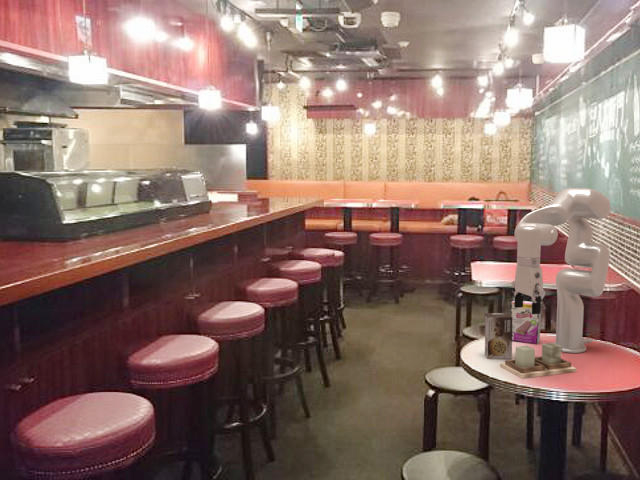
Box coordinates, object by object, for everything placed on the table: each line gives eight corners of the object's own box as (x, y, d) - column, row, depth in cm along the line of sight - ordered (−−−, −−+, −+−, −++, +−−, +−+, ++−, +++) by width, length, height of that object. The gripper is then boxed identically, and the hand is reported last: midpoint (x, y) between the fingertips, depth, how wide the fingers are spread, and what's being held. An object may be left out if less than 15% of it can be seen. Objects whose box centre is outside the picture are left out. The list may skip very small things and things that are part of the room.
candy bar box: (509, 341, 251) (510, 301, 249) (512, 338, 255) (513, 299, 253) (537, 344, 245) (539, 304, 243) (540, 341, 250) (541, 302, 248)
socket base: (551, 360, 225) (552, 338, 224) (576, 371, 213) (577, 348, 212) (500, 366, 219) (500, 344, 218) (522, 378, 206) (523, 354, 206)
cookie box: (508, 354, 233) (509, 312, 231) (512, 359, 227) (513, 316, 225) (484, 353, 234) (485, 312, 232) (486, 358, 228) (488, 316, 226)
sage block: (526, 364, 217) (526, 345, 216) (534, 368, 213) (534, 349, 212) (515, 366, 216) (515, 346, 215) (523, 370, 211) (523, 350, 211)
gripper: (554, 265, 203) (552, 315, 205) (522, 257, 219) (521, 304, 221) (535, 266, 200) (533, 317, 203) (504, 258, 217) (503, 305, 219)
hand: (527, 310), depth 212 cm, fingers open, 9 cm apart
